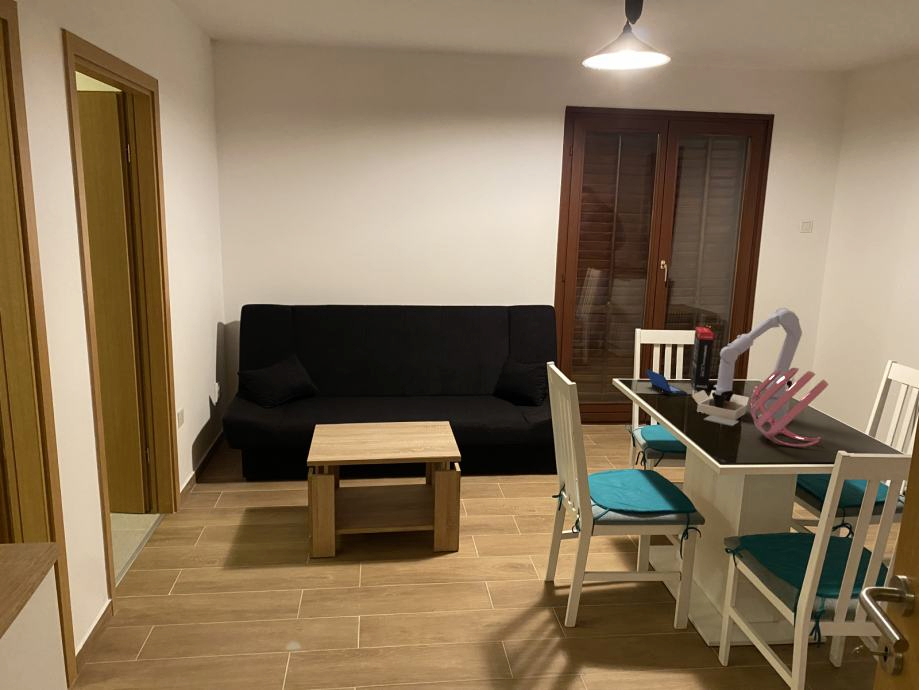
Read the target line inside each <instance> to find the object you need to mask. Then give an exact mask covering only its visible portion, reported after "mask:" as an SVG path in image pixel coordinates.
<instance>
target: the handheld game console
mask: <svg viewBox="0 0 919 690" xmlns="http://www.w3.org/2000/svg"><path fill="white" fill-rule="evenodd" d="M645 371H646V374H647V376H648V379H649V381H650V383H651V388H652V387H653V388H652V389H655V390H657V391H659V390H660V391H659V392H662V391H663V392H664V393H663V392H662V393H663V394H665V393H666V395H668V396H670V397H671V396H687V395H688V392H687V391H685V390H683V389H680V388H678V387H676V386H674V385H671V384H669V383H668V381H667V379H666V377H665V376H664V375H663V374H661V373H659V372H655V371H653V370H650V369H648V368H646V370H645Z"/></svg>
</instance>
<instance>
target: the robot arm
mask: <svg viewBox="0 0 919 690" xmlns="http://www.w3.org/2000/svg"><path fill="white" fill-rule="evenodd" d="M780 327H782V329H783V330H784V332H785V333H786V335H785V339H784V341H783V342H782V343H783V344H782V347H781V349H780V352H779V355H778V357H777V360H776V363H775V366H774V369H773V371H772V372H771V374H772V373H774V372H775V371H776V370H779V369H782V372H781V373H780V374H779V375H778V376H777V377H776V378H775V379H774V380H773V381H772V382H771V383H770V384H769V385H768V386H767V387H766V388H765V389H764V390H765V392H766V391H767V390H768V389H769V388H770V387H771V386H772V385H773V384H774V383H776V382H777V381H778V380H779V379H780V378H781V377H782V376H783V375H784V374H785V373H786V372H787V371H789V370H790V369H791V366H792V365H791V364H792V362H793V360H794V356H795V354H796V352H797V351H796V350H797V349H798V346H799V343H800V341H801V337H802V335H803V331H802V328H801V324H800V318H799V317H798V315H796V313H795V312H794V311H792V310H790V309H788V308H785V307H780V308H778V309H777V310H775V311H774V312H772V313H771V314H769V315H768V316H767V317H765V319H764V320H762V321H761V322H760V323H759V324H757V326H755V327H754V328H753V329H752V330H751V331H749V332H748V333H742V334H741V335H740V334H738V335H737V336H736V339H734V340H733V341H732V342H731V343H727V346H724V347H722V349H720V352H719V357H720V363H719V367H718V375H717V376H718V377H717V381H716V382H717V383H716V384H714V385H713V388H716V389H715V391H716V393H715V392H713V393H712V396H713V398H714V402H715V407H718V408H723V404H724V401H730V399H731V397H732V396H733V394H735V393H736V391H735V390H733V383H734V376H735V375H734V374H735V364H736V361H737V360H738V357H739V356H741V355H742V354H743V353H744V352H745V351H747V350H748V349H749V348H751V347H753V345H754V340H756V339H758V338H759V337H760V336H762V335H763V334H764V333H766V332H767V331H769V330H770V329H772V328H774V329H775V328H780ZM771 374H770V375H771ZM786 384H787V383H786ZM786 384H785V385H784V386H783V387H782V388H781V389H780V390H778V391H777V392H776V393H775V394H774V395H773V396H772V397H771V398H770V399H769V400H768V401H767V402H766V403H765V404H764V407H765V409H766V410H767V409H768V408H769V407H770V406H771V405H773V404H774V403H775V402H776V401H777V400H778V399H779V398H780V397H781V396H782V395H783V394H784V393H785V392H786V391H787V389H786ZM789 411H790V400H788V401H787V402H786V403H785V404H784V405H783V406H782V407H781V408H780V409H779V410H778V411H777V412H776V413H775V414H774V415H773V419H774V420H776V421H779V420H780V419H781V418H782V417H783V416H784V415H785V414H787V413H788V412H789ZM761 415H762V413H761V412H760V414H758V416H757V419H758V418H759V417H760V416H761Z"/></svg>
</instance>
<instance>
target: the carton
mask: <svg viewBox="0 0 919 690" xmlns="http://www.w3.org/2000/svg"><path fill="white" fill-rule="evenodd" d="M713 392H715V393H716V390H713V389H712V390H711V392H710V394H709V395H708V394H707V393H706V391H704V390H699V391H698V392H696V393H694V394H692V395H691V397H692V398H693V400H694V401H695V402H696V403H697V405H696V406H697V409H696V412H697V413H699V412H701V414H704V413H705V415H708V416H710V415H713V416H718V417H722V418H727V419H731V420H736V421H737V420H738V419H739V418H741V417H742V416H744V415H746V411H747V406H750V402H749V400H750V396H749V397H748V396H744V395H738V394H735V393H734V394H733V396H732V397H731V399H730V402H735V410H734V411H732V410H727V409H723V408H718V407H713V406H709V402H710V399H712V398H713V396H712V393H713ZM755 400H756V399H754V400H753V402H756V401H755Z"/></svg>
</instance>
